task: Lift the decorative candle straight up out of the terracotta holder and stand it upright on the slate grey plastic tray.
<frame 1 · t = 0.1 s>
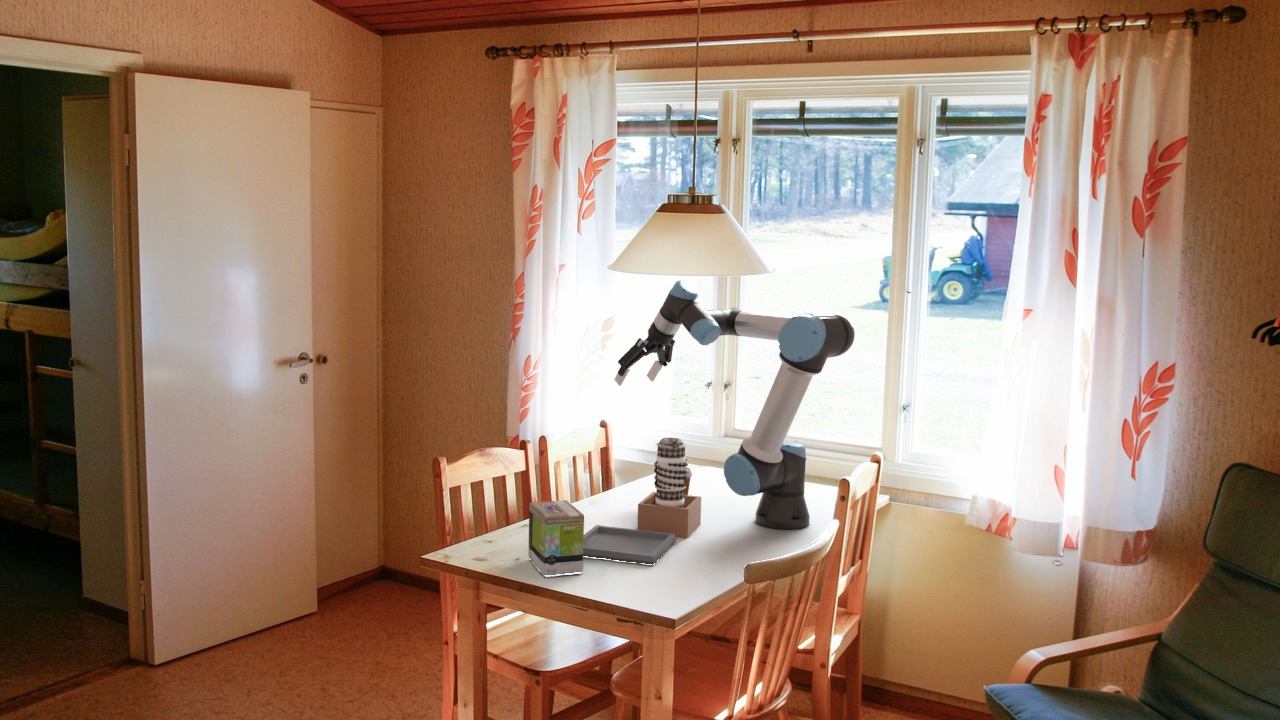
hand: (633, 380, 314), 36 cm above the table, tool tilted 35°, fingers open, 13 cm apart
slate tray: (623, 549, 266), on the table
decorative candle: (669, 529, 285), resting in terracotta holder
tea box: (555, 568, 251), on the table
disposable coffee cup: (674, 509, 305), on the table
terracotta holder: (669, 528, 285), on the table
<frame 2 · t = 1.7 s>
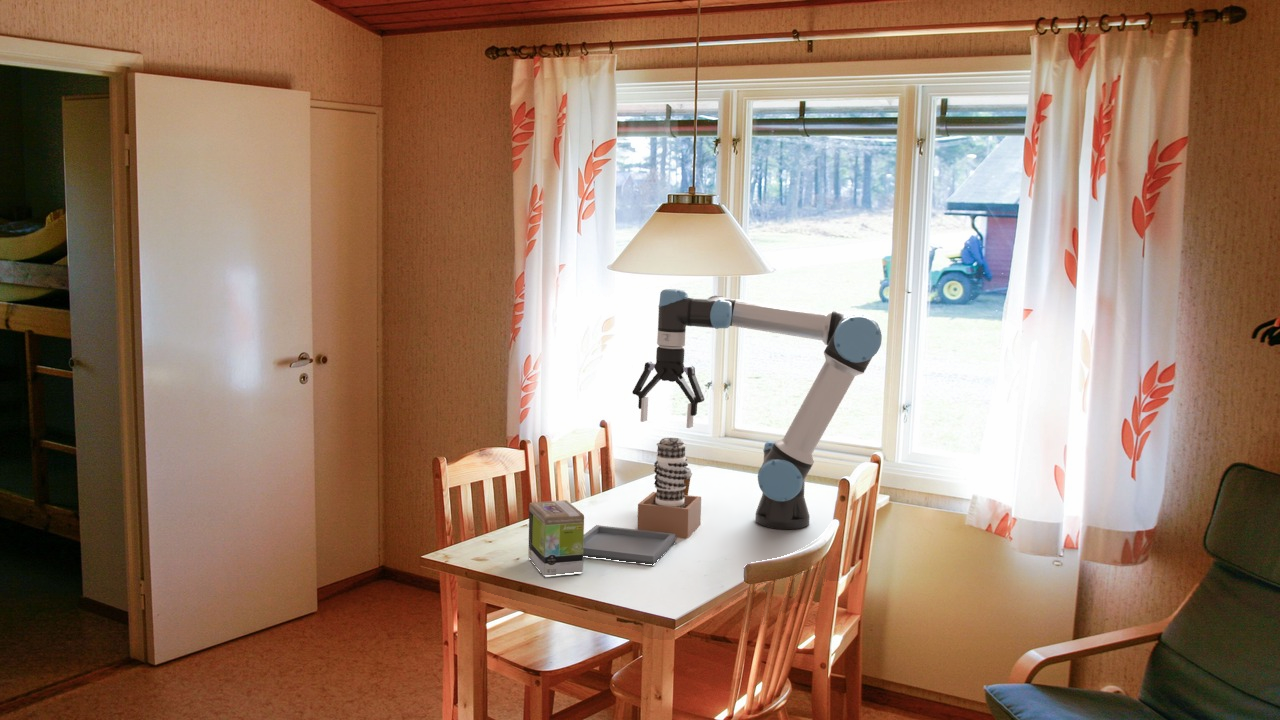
hand: (666, 424, 283), 29 cm above the table, tool pointing down, fingers open, 13 cm apart
nothing on the table moved.
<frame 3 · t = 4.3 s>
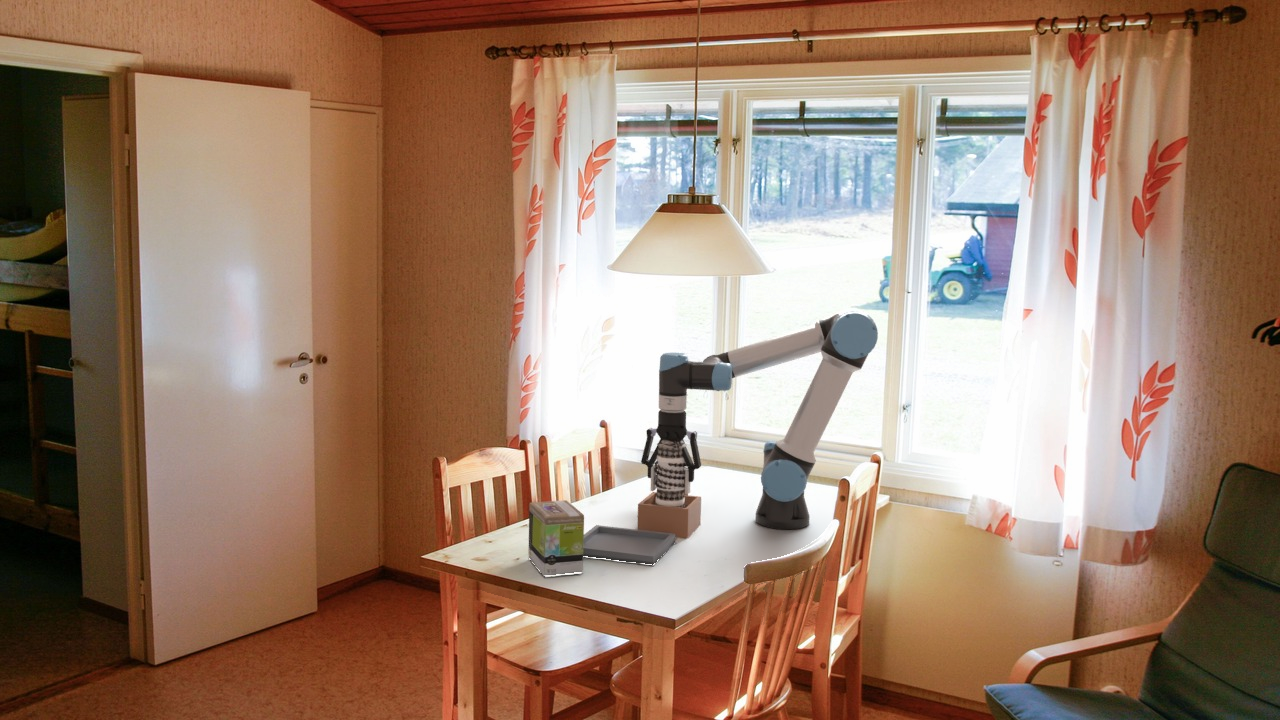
hand: (670, 491, 283), 10 cm above the table, tool pointing down, fingers closed on decorative candle, 9 cm apart
decorative candle: (669, 529, 285), resting in terracotta holder, touching gripper
everything else where it was.
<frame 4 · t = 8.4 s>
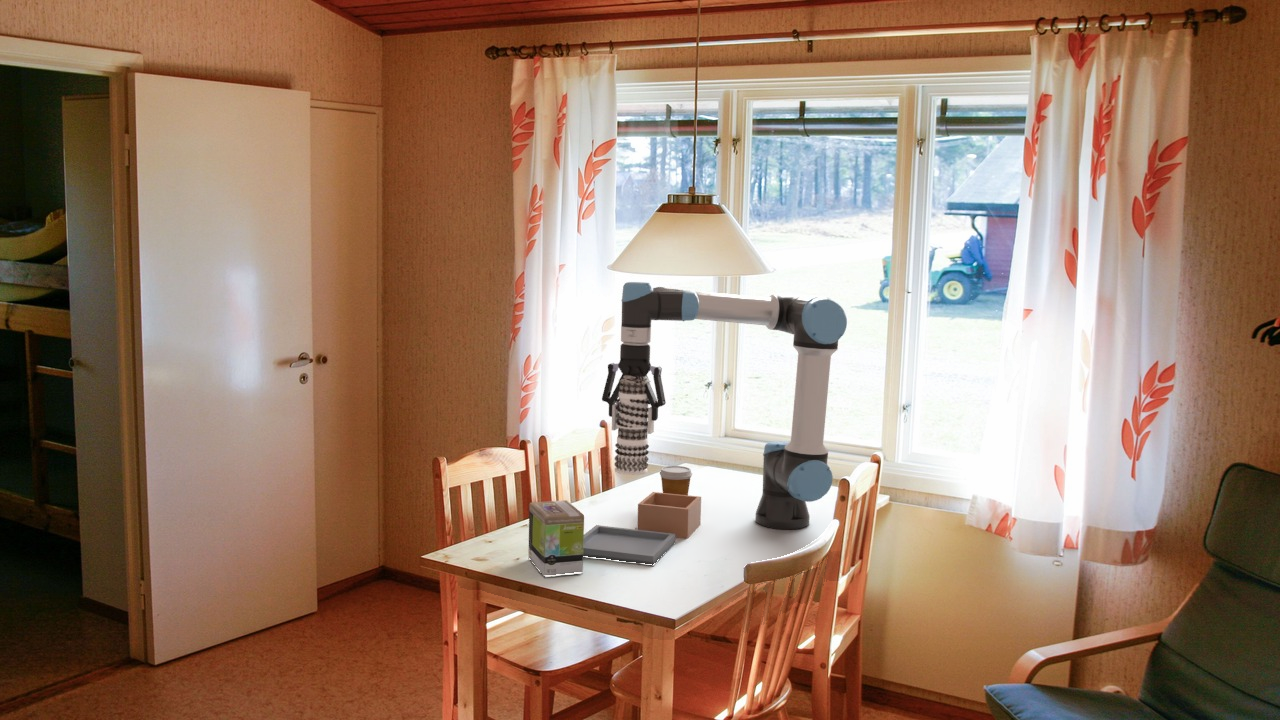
hand: (632, 431, 265), 30 cm above the table, tool pointing down, fingers closed on decorative candle, 9 cm apart
decorative candle: (631, 471, 267), point 20 cm above the table, touching gripper
everything else where it was.
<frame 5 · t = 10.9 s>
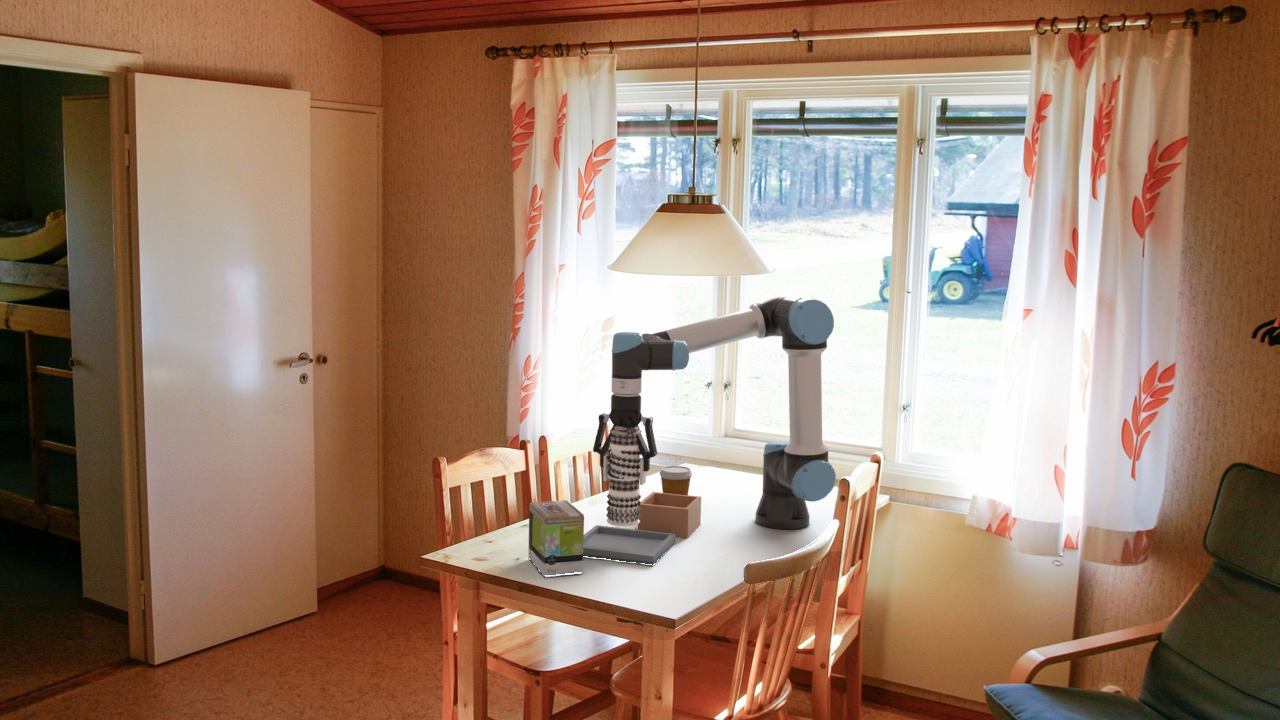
hand: (624, 481, 263), 18 cm above the table, tool pointing down, fingers closed on decorative candle, 9 cm apart
decorative candle: (623, 522, 265), point 7 cm above the table, touching gripper
everything else where it was.
when the fingers open (13 cm above the table, at t = 12.8 s): decorative candle drops 1 cm, resting on slate tray.
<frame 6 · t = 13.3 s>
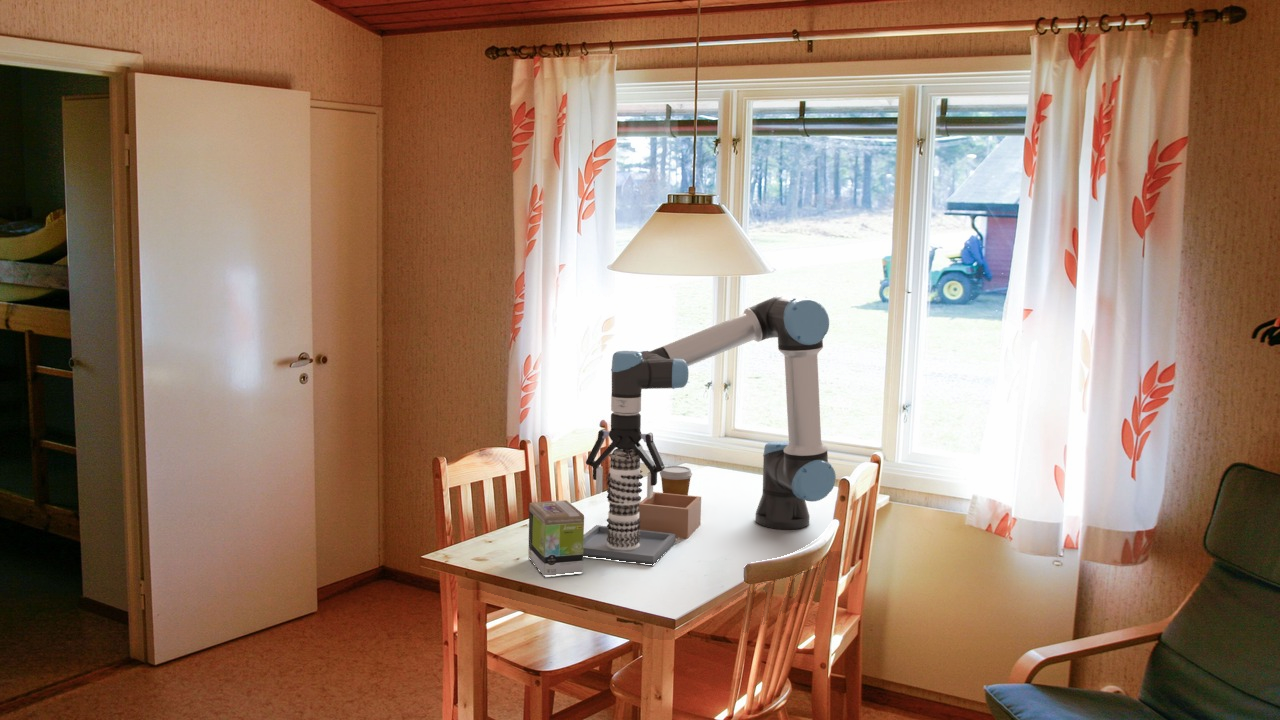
hand: (624, 495, 264), 14 cm above the table, tool pointing down, fingers open, 13 cm apart
decorative candle: (623, 546, 266), point 1 cm above the table, touching slate tray
everything else where it was.
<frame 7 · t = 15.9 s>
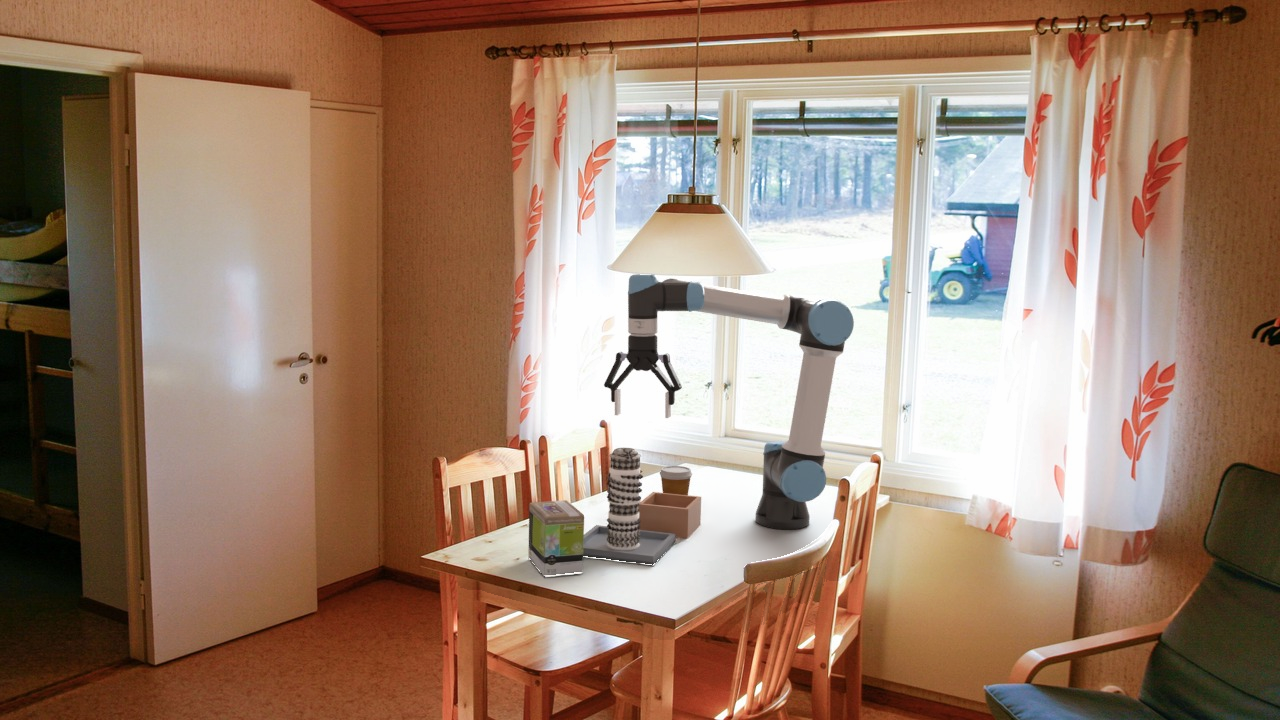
hand: (642, 415, 270), 33 cm above the table, tool pointing down, fingers open, 13 cm apart
nothing on the table moved.
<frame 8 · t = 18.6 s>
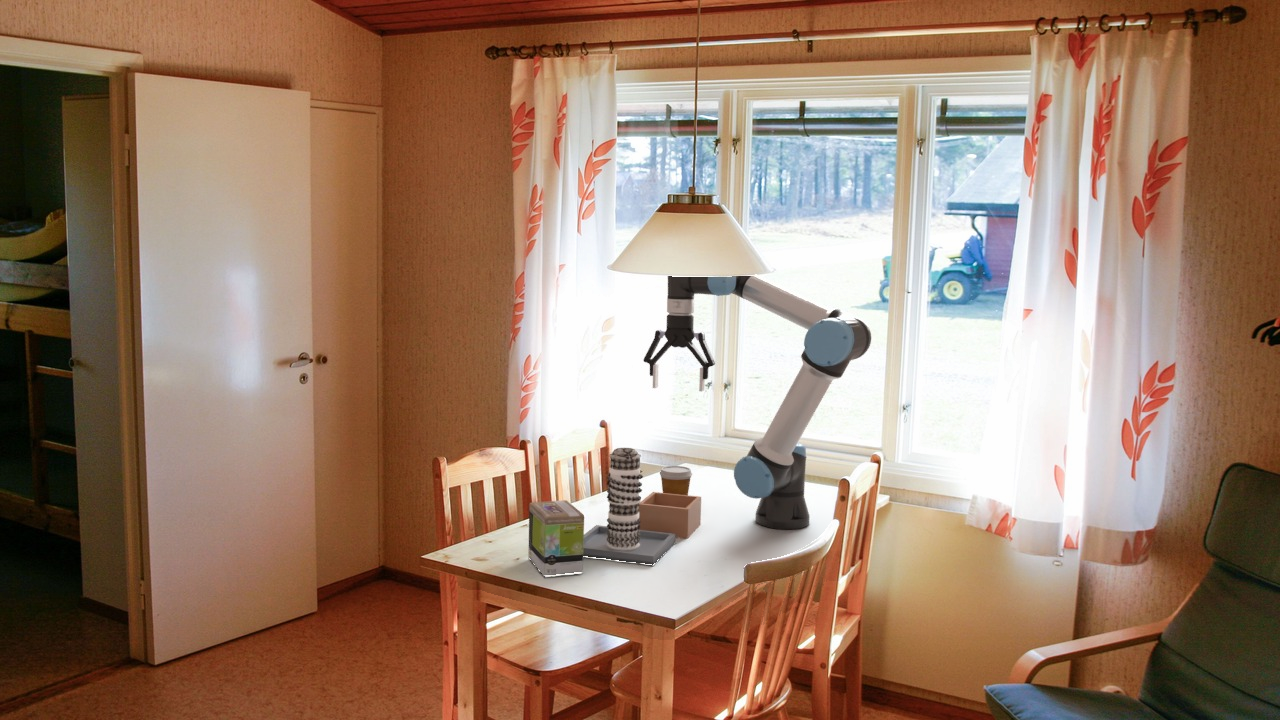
hand: (678, 389, 293), 37 cm above the table, tool pointing down, fingers open, 13 cm apart
nothing on the table moved.
at the end: decorative candle inside the target area on the slate tray (0.1 cm from its centre), point 0.8 cm above the slate tray's base; decorative candle tilted 0°; the gripper is holding nothing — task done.
